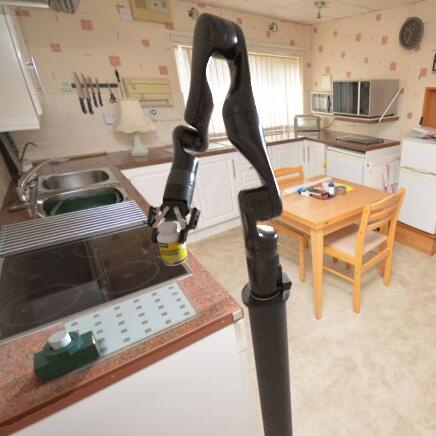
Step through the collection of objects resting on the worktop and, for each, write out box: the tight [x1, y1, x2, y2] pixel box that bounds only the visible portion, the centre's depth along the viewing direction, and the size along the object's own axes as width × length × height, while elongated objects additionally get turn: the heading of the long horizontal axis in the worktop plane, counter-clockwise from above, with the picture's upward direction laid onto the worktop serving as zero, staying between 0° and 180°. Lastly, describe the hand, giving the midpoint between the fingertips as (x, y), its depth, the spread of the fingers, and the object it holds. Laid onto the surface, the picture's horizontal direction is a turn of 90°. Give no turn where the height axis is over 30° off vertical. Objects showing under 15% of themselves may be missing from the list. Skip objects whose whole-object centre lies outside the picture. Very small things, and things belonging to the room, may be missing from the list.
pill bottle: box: [157, 221, 189, 267], centre depth 82 cm, size 6×6×12 cm
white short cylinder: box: [47, 330, 72, 350], centre depth 62 cm, size 3×3×2 cm
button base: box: [32, 329, 101, 384], centre depth 64 cm, size 10×6×6 cm, turn 131°
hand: (167, 243), depth 80 cm, fingers closed on pill bottle, 6 cm apart
